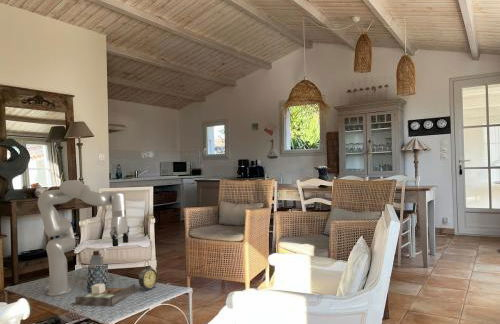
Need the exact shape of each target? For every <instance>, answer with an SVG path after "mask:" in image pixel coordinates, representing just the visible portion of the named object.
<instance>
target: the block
mask: <svg viewBox="0 0 500 324" xmlns="http://www.w3.org/2000/svg"><path fill="white" fill-rule="evenodd" d="M105 288H106V283H95V284H93V285H91V293H92V294H100V293H102V292H104V291H105Z"/></svg>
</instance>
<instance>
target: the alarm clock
mask: <svg viewBox="0 0 500 324" xmlns="http://www.w3.org/2000/svg"><path fill="white" fill-rule="evenodd" d="M146 263H148V265H144V267H145V269H143V270H142V271H140V273H139V275H138V284H139V286H140V287H141V288H142V289H143V292H144V293H145V291H146V289H152V288H156V284H157V283H158V282H157V281H158V273H157V271H156V270H155V269H154V268H148V267H149V265H150V263H149V262H148V261H145V262H144V264H146Z"/></svg>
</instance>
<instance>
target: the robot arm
mask: <svg viewBox="0 0 500 324" xmlns="http://www.w3.org/2000/svg"><path fill="white" fill-rule="evenodd" d="M74 198H75V199H79V200H81V201H82V202H84V203H85V204H86V205H87V204H88V205H91V206H95V207H106V206H111V220H110V232H109V235H110V238H111V241H112V243H111V244H112V247H119V240H118V237H119V236H121V235H122V243H123V244H124V243H126V244H127V243H129V235H130V234H129V233H130V226H129V225H128V219H127V207H126V205H127V203H126V193H125V192H124V191H115V192H113V191H105V192H104V191H103V192H97V191H92V190H91V187H90V186H89V185H87V184H84V183H83V181H81V180H78V179H73V180H71V179H69V180H65V181H62V182H61V183H60V185H59V189H51V190H46V191H43V192H42V193H40V194H39V196H38V199H37V206H38V209H39V212H40V215H41V219H42V224H43V227H44V231H45V234H46V236H48V237H51V238H52V237H56V238H53V239H51V240H49V241H48V242H47V244H46V249H45V250H46V253H47V259H48V269H49V284H47V285H46V286H45V290H48V291H47V292H46V293H47V296H50V297H56V296H62V295H66V294H68V293H70V292H71V291H72V288H71V287H69V277H68V276H69V275H68V259H67V257H66V255H65V253H68V252H71V251H73V250H74V249H75V247H76V243H77V242H76V237H75V233H74V230H73V229H74V228H73V225H72V222H71V221H70V220H69V219H67V218H60V217H59V213H58V210H57V209H56V207H55V206H54V205H59V204H60V205H61V204H65V203H68V202H70V201H71V200H73V199H74ZM57 236H59V237H57Z"/></svg>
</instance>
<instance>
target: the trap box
mask: <svg viewBox="0 0 500 324" xmlns="http://www.w3.org/2000/svg"><path fill="white" fill-rule="evenodd" d="M136 291H137V290H136V284H135V283H133V284H132V285H130V286H127V288H125V287H124V288H123V287H105V291H104V292H102V293H100V294H92V292H90V293H88V294H86V295H85V296H79V295H77V296H75V305H76V306H81V305H82V306H99V307H101V306H102V307H114V306H116V305H117V304H118V303H120V302H122V301H124V300H126V299H127V298H129V297H130V296H132V295H133V294H135V293H136Z"/></svg>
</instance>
